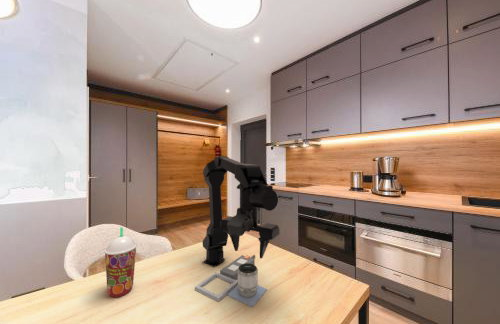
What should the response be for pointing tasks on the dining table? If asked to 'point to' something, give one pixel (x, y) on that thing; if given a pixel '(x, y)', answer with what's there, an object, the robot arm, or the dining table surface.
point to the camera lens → (247, 280)
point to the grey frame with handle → (225, 277)
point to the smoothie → (120, 265)
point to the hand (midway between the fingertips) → (248, 254)
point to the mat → (248, 300)
